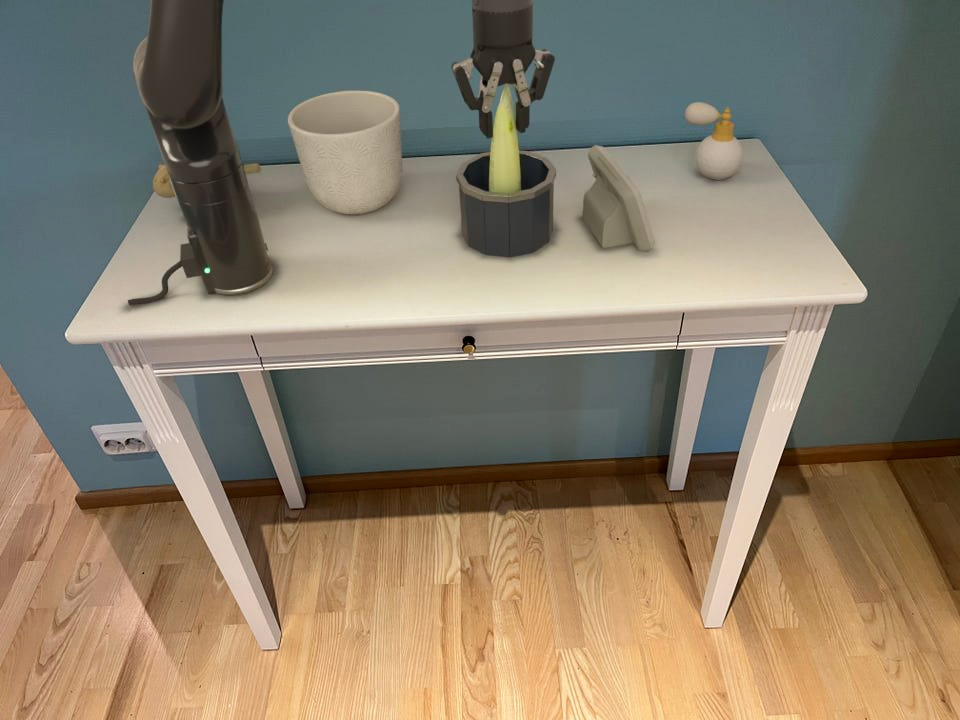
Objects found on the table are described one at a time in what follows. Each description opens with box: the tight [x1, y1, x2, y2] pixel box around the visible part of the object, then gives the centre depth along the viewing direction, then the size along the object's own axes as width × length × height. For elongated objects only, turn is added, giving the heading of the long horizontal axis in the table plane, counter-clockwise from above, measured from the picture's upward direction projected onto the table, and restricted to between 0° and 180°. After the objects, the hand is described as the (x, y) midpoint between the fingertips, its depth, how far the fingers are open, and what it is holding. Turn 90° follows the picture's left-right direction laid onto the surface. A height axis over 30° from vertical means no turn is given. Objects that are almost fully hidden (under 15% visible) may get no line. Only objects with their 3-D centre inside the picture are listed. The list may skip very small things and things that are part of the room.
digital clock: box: [581, 144, 655, 252], centre depth 108 cm, size 16×9×11 cm, turn 2°
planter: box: [287, 90, 403, 215], centre depth 116 cm, size 17×17×15 cm
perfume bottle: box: [684, 101, 744, 181], centre depth 118 cm, size 8×10×12 cm
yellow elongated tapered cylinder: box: [489, 84, 521, 193], centre depth 104 cm, size 6×5×20 cm
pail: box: [455, 150, 557, 258], centre depth 109 cm, size 14×14×10 cm
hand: (504, 132), depth 101 cm, fingers closed on yellow elongated tapered cylinder, 4 cm apart
